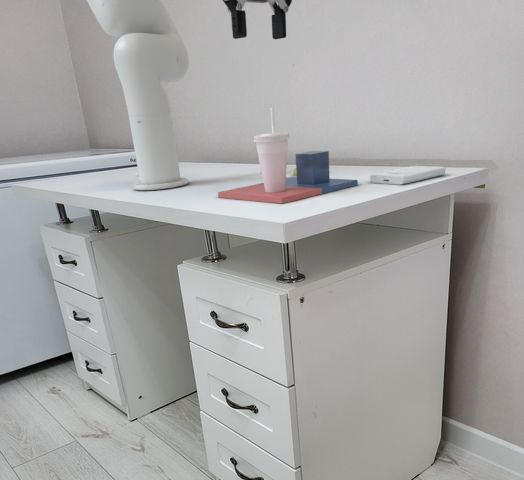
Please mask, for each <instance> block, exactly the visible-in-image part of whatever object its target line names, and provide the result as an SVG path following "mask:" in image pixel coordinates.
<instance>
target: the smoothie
mask: <svg viewBox="0 0 524 480" xmlns="http://www.w3.org/2000/svg"><path fill="white" fill-rule="evenodd" d="M269 109H270V122H271V133H270V132H269V133H260V134H257V135H253V143H255V146H256V152H257V157H258V163H259V166H260V172H261V177H262V183H264V187H265V192H281V191H285V187H286V178H287V164H288V143H289V140H290V134H289V132H276V124H275V122H276V121H275V110H274V109H275V108H274V107H273V106H272V107H270V108H269Z"/></svg>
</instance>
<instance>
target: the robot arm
mask: <svg viewBox="0 0 524 480" xmlns="http://www.w3.org/2000/svg"><path fill="white" fill-rule="evenodd" d="M86 2H87V4H88V6H89V7H90V10H91V11H92V13H93V15H94V17H95V19H96V20H97V22H98V25H99V26H100V27H101V28H102V30H103V31H104V32H105V33H106V34H107V35H108V36H110V37H113V38H117V39H118V40H117V41H116V43H115V44H114V47H113V52H112V53H113V55H112V57H113V58H112V59H113V63H114V67H115V70H116V73H117V76H118V78H119V81H120V84H121V87H122V88H121V89H122V91H123V94H124V100H125V105H126V109H127V115H128V120H129V127H130V131H131V139H132V142H133V148H134V155H135V160H136V166H137V170H136V171H135V173H134V174H135V175H134V176H135V177H138V178H139V179H138V180H139V181H138V182H135V183H134V184H133V189H134V190H135V191H156V190H157V191H159V190H167V189H172V188H178V187H182V186H185V185H187V184H189V181H188V178H187V177H181V171H180V165H179V164H180V163H179V158H178V157H179V156H178V150H177V144H176V137H175V129H174V122H173V116H172V111H171V103H170V99H169V96H168V95H167V93H166V91H165V88H164V87H163V85H162V83H173V82H178V81H180V80H182V79H183V78H184V77H185V76H186V74H187V73H188V70H189V54H188V50H187V47H186V45H185V42H184V40H183V39H182V36H181V34H180V32H179V31H178V29H177V28H176V25H175V24H174V22H173V20H172V18H171V16H170V15H169V12H168V11H167V9H166V7H165V5H164V4H163V3H162V1H161V0H86ZM222 2H223V3H224V4H225V6H226V7H227V8H226V11H227V12H228V13H230V18H231V31H232V38H233V39H234V40H238V39H243V38H246V37H247V35H248V30H247V16H246V15H247V13H246V10H244V7H245V4H246V3H252V4H266V3H268V5H269V6H270V9H271V10H272V12H273V14H271V36H272V39H273V40H280V39H286V38H287V14H288V12H289V7H290V6H291V5H292V2H293V0H222Z"/></svg>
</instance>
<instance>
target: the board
mask: <svg viewBox="0 0 524 480" xmlns="http://www.w3.org/2000/svg"><path fill="white" fill-rule="evenodd" d="M358 183H359V182H358V179H347V178H346V179H345V178H330V181H328V182H323V183H319V184H314V185H311V184H297V176H289V177H286V187H285V191H281V192H265V187H264V182H261V183H255V184H251V185H246V186H241V187H235V188H232V189H226V190H221V191H218V192H217V195H218V196H217V197H218V198H219V199H220V198H221V199H231V200H240V201H241V200H242V201H250V202H251V201H252V202H260V203H273V204H286V203H291V202H294V201H300V200H302V199H307V198H310V197H316V196H319V195H323V194H327V193H333V192H335V191H340V190H344V189H348V188H352V187H356V186H358Z"/></svg>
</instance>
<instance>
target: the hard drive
mask: <svg viewBox="0 0 524 480" xmlns="http://www.w3.org/2000/svg"><path fill="white" fill-rule="evenodd" d="M446 170H447V169H446V167H445V166H435V165H434V166H432V165H410V166H406V167H401V168H398V169H393V170H392V169H391V170H388V171H384V172H383V171H382V172H378V173H374V174H370V175H369V182H370V183H371V184H383V185H400V186H402V185H407V184H410V183H414V182H419V181H423V180H428V179H431V178H436V177H440V176H444V175H446Z"/></svg>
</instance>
